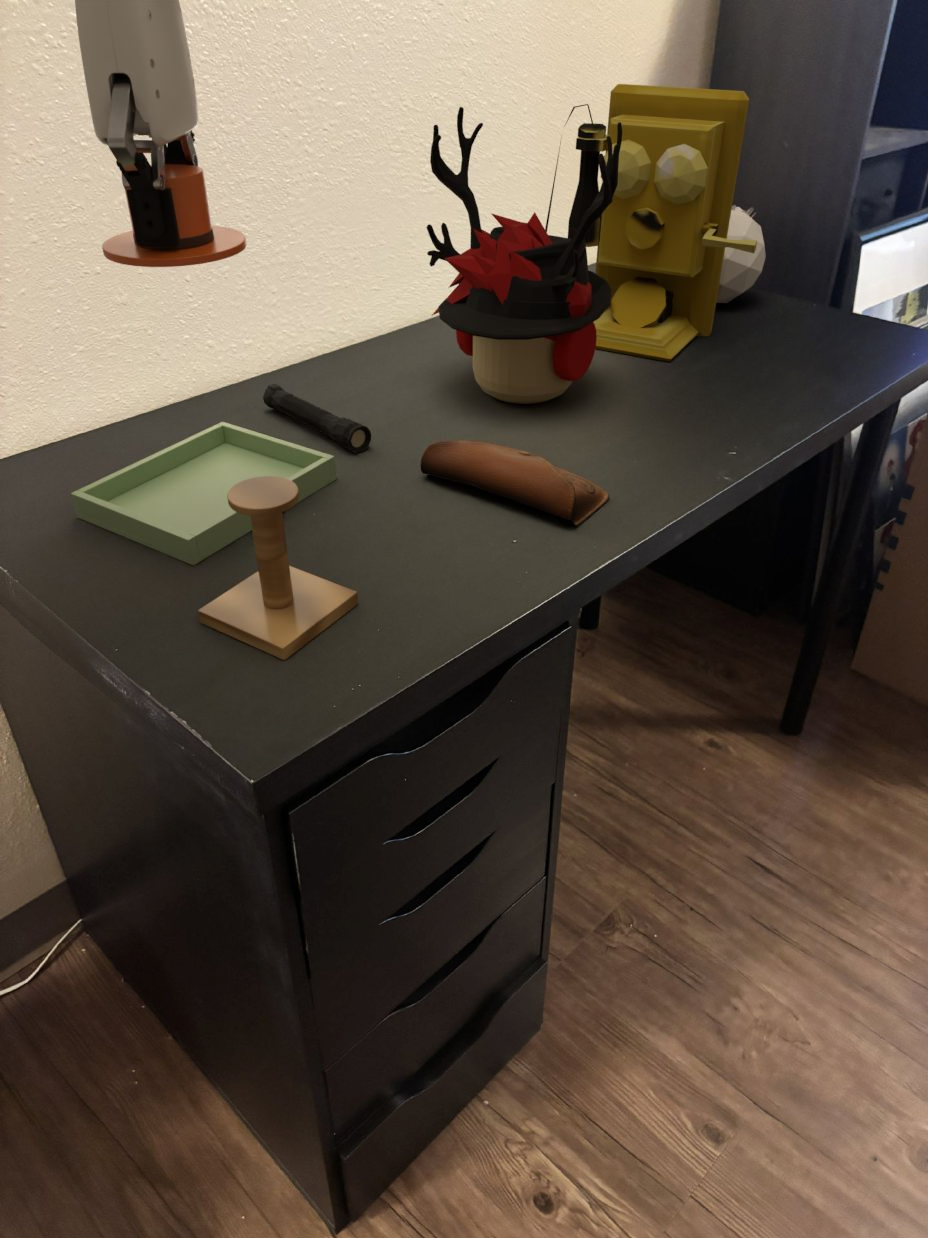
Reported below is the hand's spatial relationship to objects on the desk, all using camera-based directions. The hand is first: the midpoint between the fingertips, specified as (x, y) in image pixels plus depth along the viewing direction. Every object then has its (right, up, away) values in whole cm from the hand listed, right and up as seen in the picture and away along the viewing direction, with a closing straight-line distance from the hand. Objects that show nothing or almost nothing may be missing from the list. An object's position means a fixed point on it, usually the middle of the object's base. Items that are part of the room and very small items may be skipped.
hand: (173, 232), depth 72 cm
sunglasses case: (+28, -18, +20) cm, 38 cm away
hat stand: (+8, -30, +2) cm, 31 cm away
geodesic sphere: (+62, +19, +71) cm, 96 cm away
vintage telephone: (+46, +9, +57) cm, 73 cm away
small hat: (0, -1, +1) cm, 1 cm away
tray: (-2, -19, +18) cm, 26 cm away
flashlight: (+6, -9, +31) cm, 33 cm away
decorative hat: (+30, -3, +40) cm, 50 cm away
